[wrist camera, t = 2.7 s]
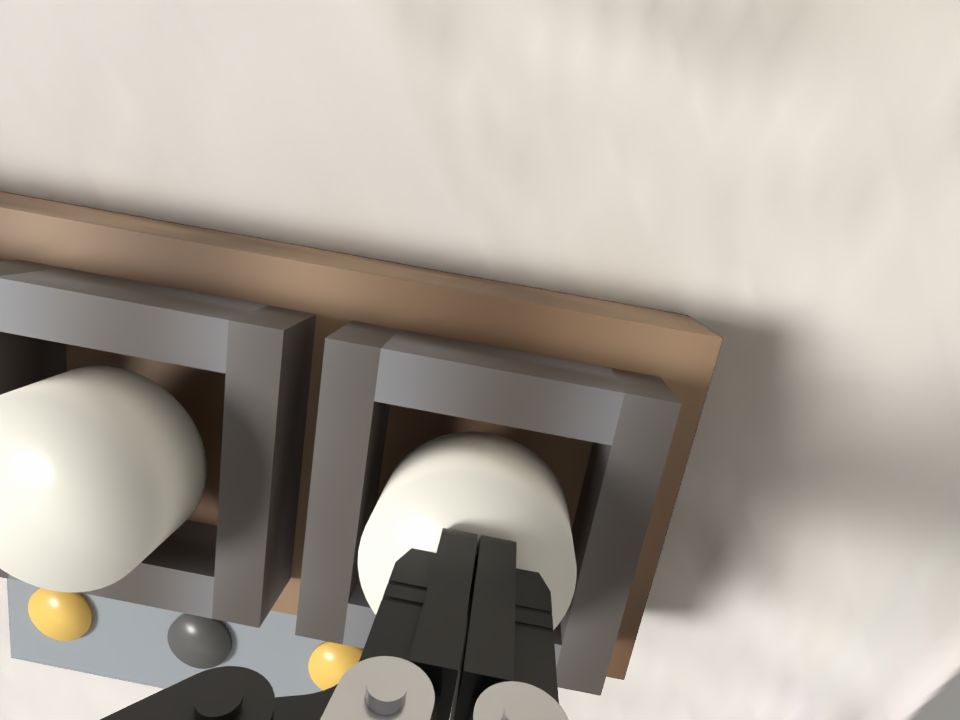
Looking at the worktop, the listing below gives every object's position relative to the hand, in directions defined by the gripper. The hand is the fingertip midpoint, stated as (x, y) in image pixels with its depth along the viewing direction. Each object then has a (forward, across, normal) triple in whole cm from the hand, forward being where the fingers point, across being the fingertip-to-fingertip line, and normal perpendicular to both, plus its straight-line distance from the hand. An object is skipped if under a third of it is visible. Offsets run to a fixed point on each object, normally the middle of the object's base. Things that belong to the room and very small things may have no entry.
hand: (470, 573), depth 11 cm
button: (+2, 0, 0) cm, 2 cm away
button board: (+7, +9, 0) cm, 11 cm away
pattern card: (+7, +9, +9) cm, 14 cm away
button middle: (+2, +9, 0) cm, 9 cm away
